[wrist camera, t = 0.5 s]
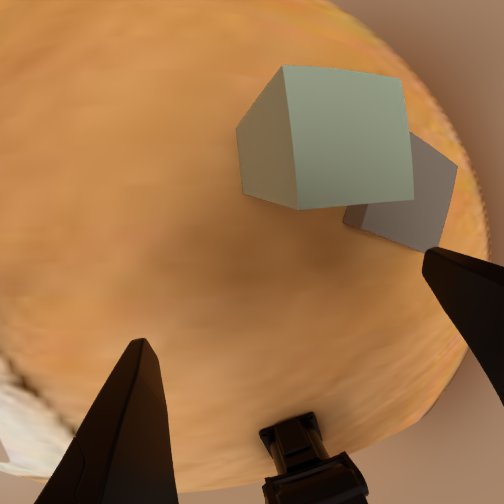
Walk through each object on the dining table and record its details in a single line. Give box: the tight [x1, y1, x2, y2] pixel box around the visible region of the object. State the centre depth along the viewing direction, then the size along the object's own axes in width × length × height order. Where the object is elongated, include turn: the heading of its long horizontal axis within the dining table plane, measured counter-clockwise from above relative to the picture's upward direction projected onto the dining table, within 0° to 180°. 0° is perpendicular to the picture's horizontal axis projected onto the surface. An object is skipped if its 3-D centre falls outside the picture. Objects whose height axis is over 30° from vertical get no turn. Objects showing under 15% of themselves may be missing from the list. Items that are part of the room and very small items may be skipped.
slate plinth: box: [343, 132, 458, 254], centre depth 22 cm, size 9×9×3 cm
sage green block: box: [236, 65, 414, 210], centre depth 15 cm, size 5×5×12 cm
